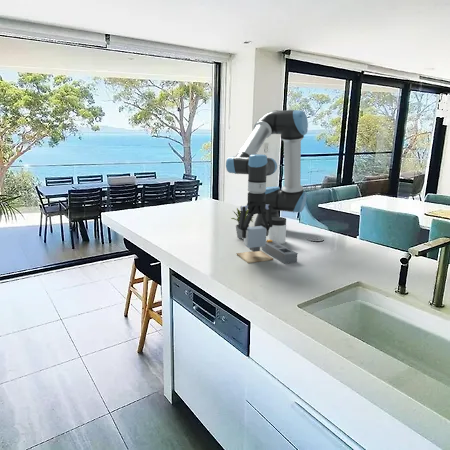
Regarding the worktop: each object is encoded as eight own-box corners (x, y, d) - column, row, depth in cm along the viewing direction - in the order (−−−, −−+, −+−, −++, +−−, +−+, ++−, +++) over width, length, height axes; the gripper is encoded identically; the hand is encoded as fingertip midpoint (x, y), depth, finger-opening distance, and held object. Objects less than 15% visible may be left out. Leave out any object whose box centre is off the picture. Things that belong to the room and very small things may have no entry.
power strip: (254, 245, 181) (254, 235, 180) (265, 243, 183) (265, 234, 182) (284, 263, 156) (285, 252, 155) (296, 262, 158) (297, 251, 157)
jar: (265, 242, 186) (266, 219, 183) (271, 238, 193) (272, 216, 190) (282, 245, 181) (283, 221, 178) (288, 241, 188) (289, 218, 185)
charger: (244, 249, 163) (244, 227, 161) (260, 247, 166) (261, 225, 164) (248, 252, 160) (249, 229, 157) (265, 250, 163) (266, 228, 160)
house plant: (254, 242, 185) (255, 210, 181) (227, 241, 187) (227, 208, 183) (258, 235, 198) (259, 205, 194) (232, 233, 201) (232, 203, 197)
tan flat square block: (260, 251, 172) (260, 250, 171) (273, 259, 161) (273, 258, 161) (236, 254, 167) (236, 253, 167) (247, 263, 156) (248, 261, 156)
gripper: (237, 194, 150) (236, 248, 155) (282, 192, 157) (280, 244, 163) (230, 191, 156) (229, 244, 162) (274, 189, 164) (271, 239, 170)
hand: (254, 244), depth 162 cm, fingers closed on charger, 8 cm apart
